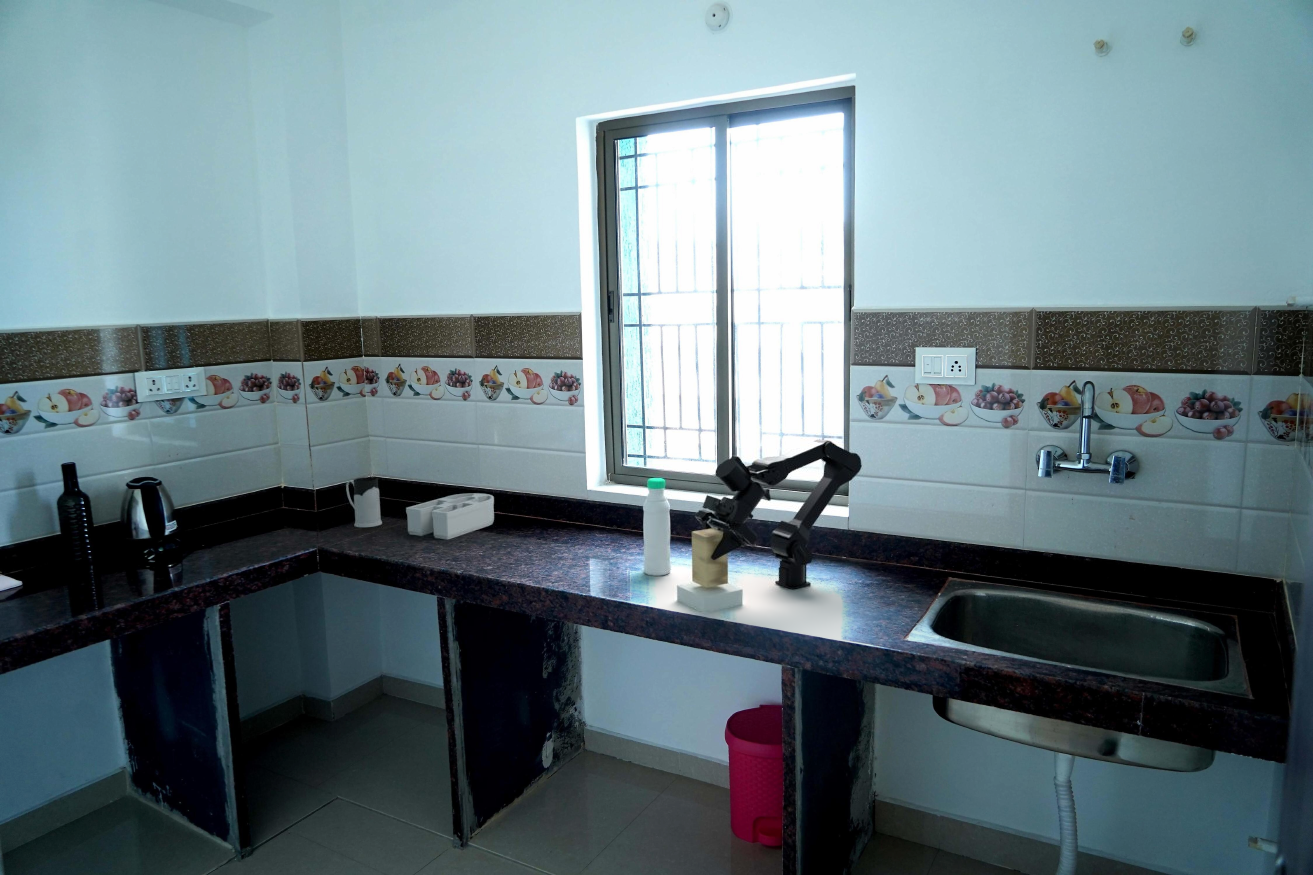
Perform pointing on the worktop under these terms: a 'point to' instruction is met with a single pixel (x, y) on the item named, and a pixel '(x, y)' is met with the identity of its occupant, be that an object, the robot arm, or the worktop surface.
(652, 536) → the water bottle
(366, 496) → the white and grey pitcher
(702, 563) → the honey wood block
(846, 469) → the robot arm
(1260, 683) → the worktop surface
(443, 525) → the white compartment organizer
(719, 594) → the grey base block
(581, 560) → the worktop surface
